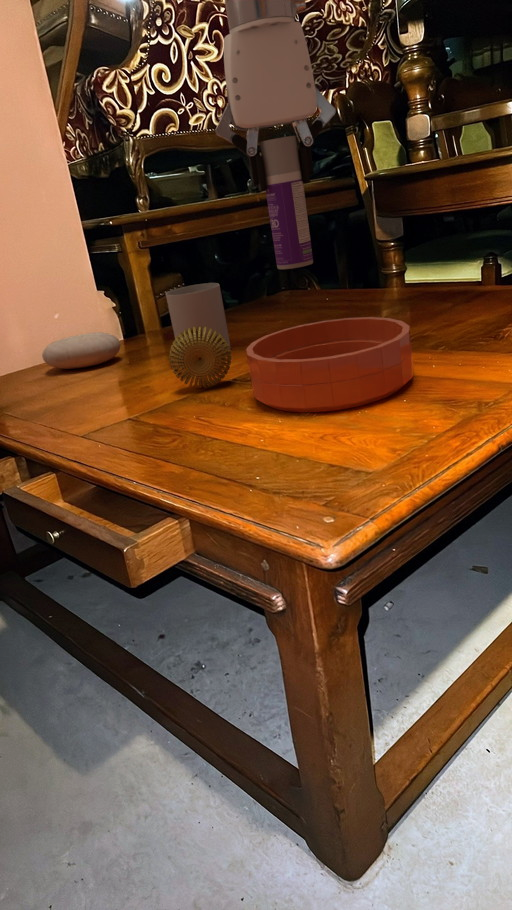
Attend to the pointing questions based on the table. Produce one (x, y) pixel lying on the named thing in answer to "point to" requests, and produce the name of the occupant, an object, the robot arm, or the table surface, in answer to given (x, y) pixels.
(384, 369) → the bowl
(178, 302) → the cup
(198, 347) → the sculpture
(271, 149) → the container
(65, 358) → the decorative stone
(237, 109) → the robot arm
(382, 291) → the table surface
